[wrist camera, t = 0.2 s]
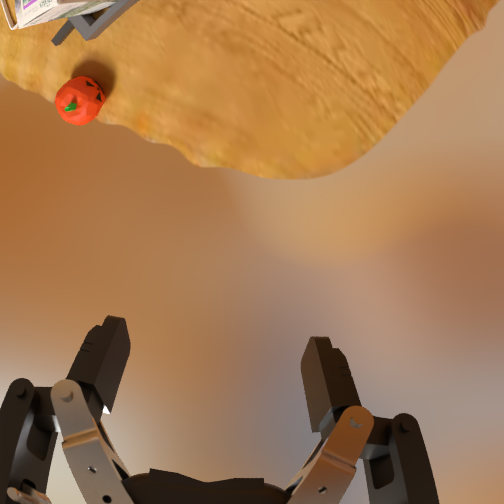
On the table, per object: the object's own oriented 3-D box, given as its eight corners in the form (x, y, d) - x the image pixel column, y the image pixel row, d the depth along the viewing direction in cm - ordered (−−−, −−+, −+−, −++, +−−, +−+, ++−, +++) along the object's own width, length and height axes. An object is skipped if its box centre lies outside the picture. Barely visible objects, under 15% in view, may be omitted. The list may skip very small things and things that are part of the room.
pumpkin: (75, 69, 27) (50, 75, 22) (117, 83, 30) (96, 91, 25) (62, 110, 31) (38, 123, 26) (100, 126, 34) (80, 141, 29)
